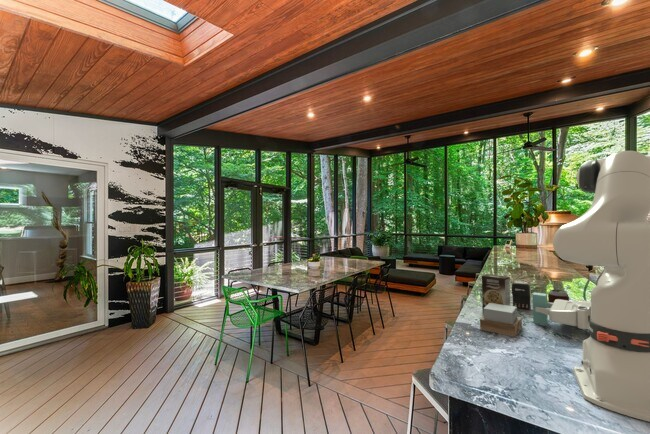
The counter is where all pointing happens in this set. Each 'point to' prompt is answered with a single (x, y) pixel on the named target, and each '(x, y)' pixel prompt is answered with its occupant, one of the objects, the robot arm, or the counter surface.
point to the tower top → (500, 313)
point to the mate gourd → (556, 294)
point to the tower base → (501, 326)
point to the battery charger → (521, 295)
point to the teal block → (539, 301)
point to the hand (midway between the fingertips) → (537, 306)
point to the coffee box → (495, 290)
